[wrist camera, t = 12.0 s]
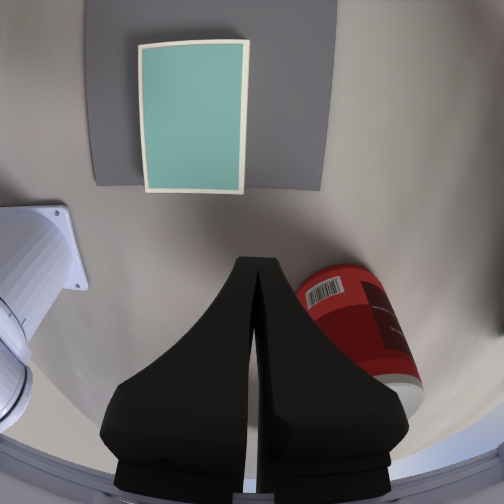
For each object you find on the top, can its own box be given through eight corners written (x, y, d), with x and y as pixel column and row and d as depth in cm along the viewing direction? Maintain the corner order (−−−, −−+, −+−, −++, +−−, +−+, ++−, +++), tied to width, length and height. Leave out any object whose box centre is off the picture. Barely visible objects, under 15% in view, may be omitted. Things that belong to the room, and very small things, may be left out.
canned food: (277, 325, 27) (282, 442, 18) (311, 249, 23) (340, 378, 14) (354, 338, 28) (379, 443, 19) (397, 272, 24) (449, 384, 15)
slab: (243, 195, 19) (145, 193, 19) (244, 185, 20) (152, 184, 20) (249, 39, 14) (137, 45, 14) (250, 41, 15) (146, 46, 15)
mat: (98, 183, 20) (96, 185, 20) (90, -11, 12) (87, -12, 12) (318, 188, 20) (319, 191, 20) (336, -22, 13) (338, -24, 12)
